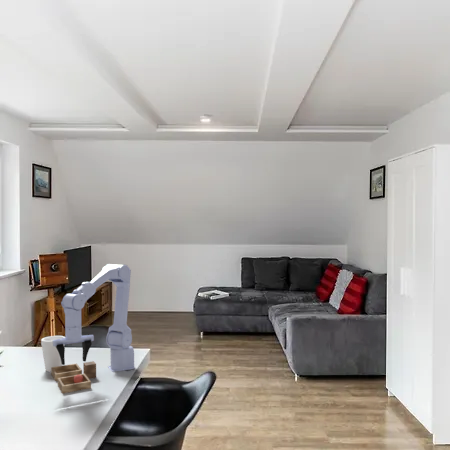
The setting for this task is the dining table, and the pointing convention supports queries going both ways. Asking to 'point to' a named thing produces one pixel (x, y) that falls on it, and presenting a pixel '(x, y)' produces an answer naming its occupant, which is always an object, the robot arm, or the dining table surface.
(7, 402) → the dining table surface
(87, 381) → the box with ball
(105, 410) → the dining table surface
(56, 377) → the box empty
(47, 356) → the foam cup
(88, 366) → the walnut block
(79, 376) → the red ball
